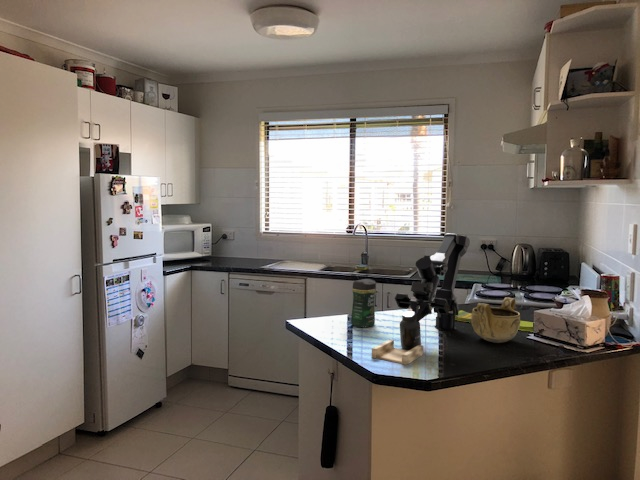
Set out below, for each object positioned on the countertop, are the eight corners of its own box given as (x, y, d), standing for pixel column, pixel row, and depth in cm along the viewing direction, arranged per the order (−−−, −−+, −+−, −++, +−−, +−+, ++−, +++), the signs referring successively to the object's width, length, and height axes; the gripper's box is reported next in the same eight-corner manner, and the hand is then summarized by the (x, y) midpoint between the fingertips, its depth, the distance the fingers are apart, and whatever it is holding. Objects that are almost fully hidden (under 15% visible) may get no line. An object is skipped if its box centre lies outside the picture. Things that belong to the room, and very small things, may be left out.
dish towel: (461, 314, 233) (461, 307, 233) (546, 327, 212) (546, 320, 212) (448, 321, 221) (448, 313, 221) (536, 335, 200) (537, 327, 200)
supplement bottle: (421, 351, 174) (419, 318, 170) (400, 351, 175) (398, 318, 172) (421, 341, 180) (419, 309, 177) (401, 341, 182) (399, 309, 178)
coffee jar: (363, 329, 202) (365, 281, 200) (347, 325, 207) (349, 279, 206) (378, 325, 209) (379, 279, 208) (362, 321, 214) (363, 276, 213)
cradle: (389, 348, 177) (389, 339, 177) (422, 354, 171) (423, 345, 171) (371, 357, 167) (371, 348, 166) (406, 365, 160) (406, 355, 160)
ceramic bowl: (500, 351, 176) (503, 308, 175) (456, 340, 188) (458, 299, 187) (530, 340, 191) (533, 299, 190) (488, 330, 203) (490, 292, 202)
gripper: (397, 270, 187) (382, 305, 178) (448, 275, 177) (434, 312, 168) (406, 289, 194) (391, 324, 185) (455, 296, 184) (442, 332, 175)
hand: (414, 323), depth 178 cm, fingers closed, pressing on supplement bottle
